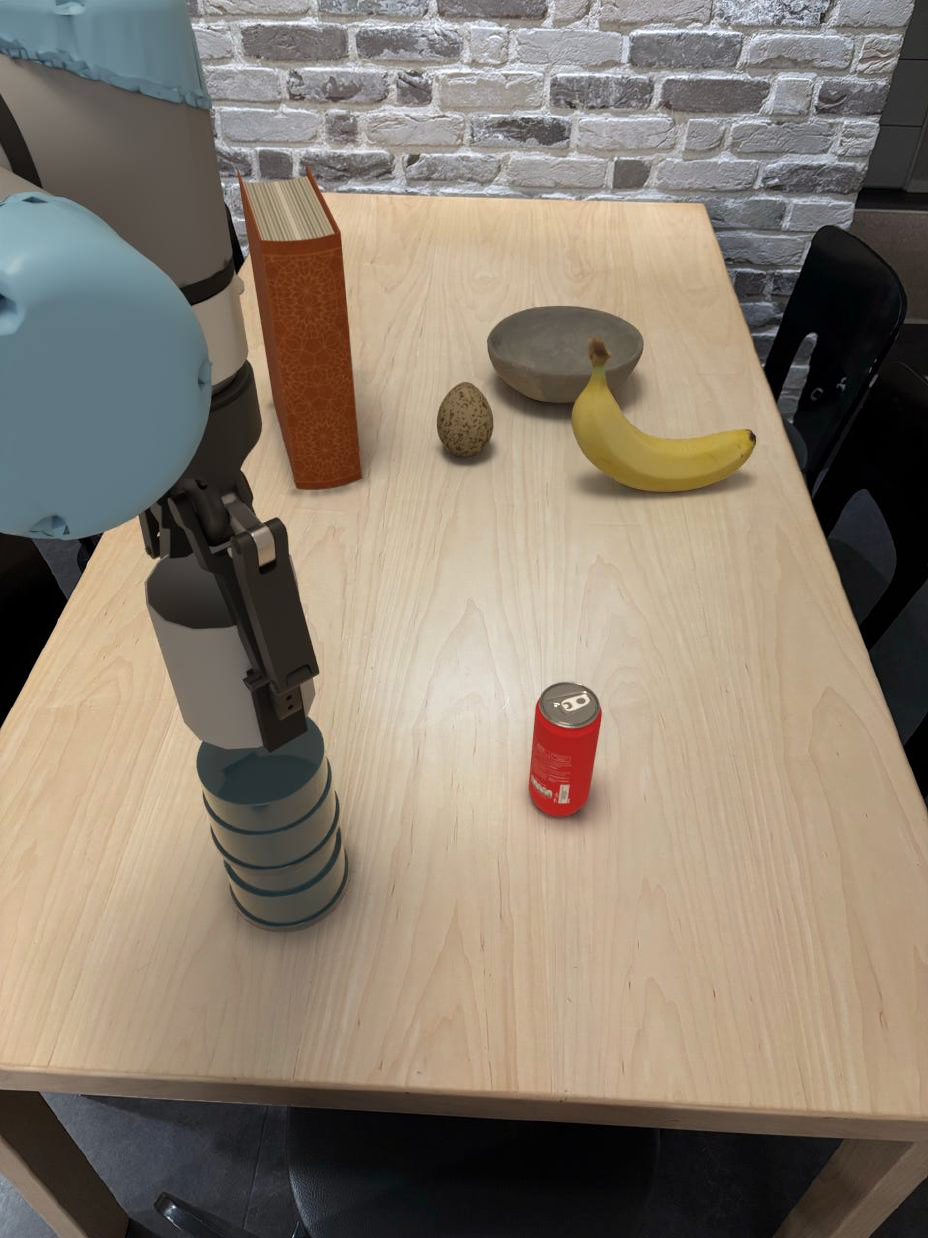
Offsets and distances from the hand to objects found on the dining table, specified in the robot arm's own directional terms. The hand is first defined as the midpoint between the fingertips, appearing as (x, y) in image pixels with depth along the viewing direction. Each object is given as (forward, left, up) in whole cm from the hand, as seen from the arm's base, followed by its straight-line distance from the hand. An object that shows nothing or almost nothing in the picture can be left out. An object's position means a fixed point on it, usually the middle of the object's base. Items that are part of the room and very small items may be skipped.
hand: (247, 694), depth 58 cm
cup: (0, 0, -1) cm, 1 cm away
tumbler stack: (0, 0, -22) cm, 22 cm away
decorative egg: (+50, +38, -22) cm, 67 cm away
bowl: (+71, +42, -22) cm, 85 cm away
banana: (+63, +17, -22) cm, 69 cm away
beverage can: (+22, -8, -22) cm, 32 cm away
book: (+37, +53, -22) cm, 68 cm away
